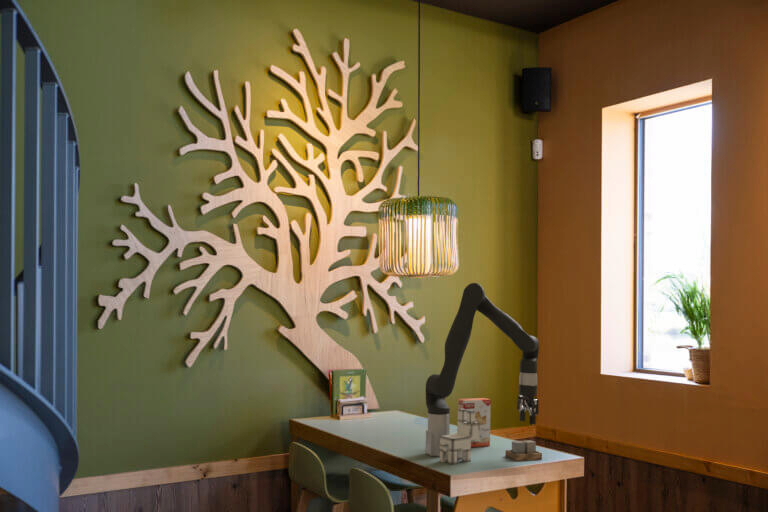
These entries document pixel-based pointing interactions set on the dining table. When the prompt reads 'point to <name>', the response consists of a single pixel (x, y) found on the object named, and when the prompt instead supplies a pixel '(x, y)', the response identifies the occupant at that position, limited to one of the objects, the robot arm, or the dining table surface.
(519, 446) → the grey rectangular block
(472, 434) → the toy llama
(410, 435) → the dining table surface
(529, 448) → the beige grey block
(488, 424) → the cracker box
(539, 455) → the bin
